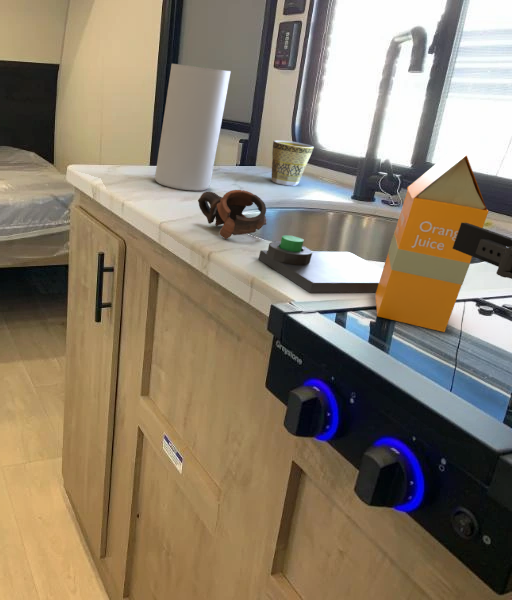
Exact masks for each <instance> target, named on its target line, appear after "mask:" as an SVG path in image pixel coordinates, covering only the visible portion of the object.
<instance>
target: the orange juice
mask: <svg viewBox="0 0 512 600" xmlns="http://www.w3.org/2000/svg"><path fill="white" fill-rule="evenodd" d="M406 189H407V191H406V193H405V197H404V200H403V204H402V207H401V210H400V213H399V217H398V220H397V223H396V226H395V229H394V233H393V234H392V237H391V241H390V243H389V248H388V251H387V255H386V259H385V262H384V265H383V268H382V269H383V271H382V274H381V278H380V281H379V284H378V287H377V291H376V292H375V296H374V297H375V307H376V317H378V318H383V319H387V320H390V321H391V320H392V321H395V322H399V323H404V324H407V325H412V326H417V327H421V328H426V329H430V330H433V331H434V330H435V331H437V332H442V333H445V332H446V329H447V326H448V324H449V321H450V319H451V315H452V313H453V311H454V308H455V305H456V302H457V299H458V296H459V294H460V291H461V288H462V286H463V284H464V281H465V278H466V276H467V273H468V271H469V267H470V265H471V261H472V258H473V257H472V256H470V255H467V254H465V253H462V252H460V251H457V250H455V249H452V248H453V245H454V242H455V240H456V237H457V234H458V231H459V228H460V225H461V223H469V224H472V225H475V226H478V227H481V228H484V226H485V222H486V219H487V216H488V215H489V210H488V209H487V205H486V203H485V201H484V198H483V196H482V193H481V190H480V187H479V185H478V182H477V180H476V176H475V174H474V171H473V169H472V166H471V163H470V160H469V158H468V153H467V152H465V150H462V149H461V148H460V147H457V146H456V147H454V148H453V149H452V150H451V151H450V152H449V153H446V155H445V156H444V157H442V158H441V159H440V160H439V161H438V162H436V163H435V164H434V165H433V166H432V167H430V168H429V169H428V170H427V171H425V172H424V173H423V174H421V176H419V177H418V178H417V179H416V180H414V181H413V182H412V183H410V184H409V185H408V186H407V187H406Z"/></svg>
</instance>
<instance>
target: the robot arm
mask: <svg viewBox="0 0 512 600" xmlns="http://www.w3.org/2000/svg"><path fill="white" fill-rule="evenodd" d="M452 249H455V250H457V251H460V252H462V253H465V254H467V255H470V256H472V258H474V259H478V260H480V261H483V262H485V263H487V264H490V265H493V266H495V267H497V269H496V275H497V276H500V277H501V278H507V279H510V280H512V237H510V236H507V235H504V234H501V233H498V232H495V231H492V230H489V229H486V228H484V227H483V228H481V227H478V226H475V225H472V224H469V223H461V225H460V228H459V231H458V234H457V237H456V240H455V242H454V245H453V248H452Z"/></svg>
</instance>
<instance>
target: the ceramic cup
mask: <svg viewBox="0 0 512 600" xmlns="http://www.w3.org/2000/svg"><path fill="white" fill-rule="evenodd" d="M314 148H315V147H314V146H313V145H310V144H306V143H302V142H297V141H291V140H281V139H280V140H278V139H276V140H273V142H272V152H271V153H272V155H271V156H272V161H271V179H270V180H271V182H273V183H275V184H278V185H282V186H290V187H291V186H292V187H296V186H298V185H299V183H300V181H301V178H302V176H303V173H304V171H305V169H306V166H307V164H308V162H309V160H310V158H311V155H312V153H313V151H314Z"/></svg>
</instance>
